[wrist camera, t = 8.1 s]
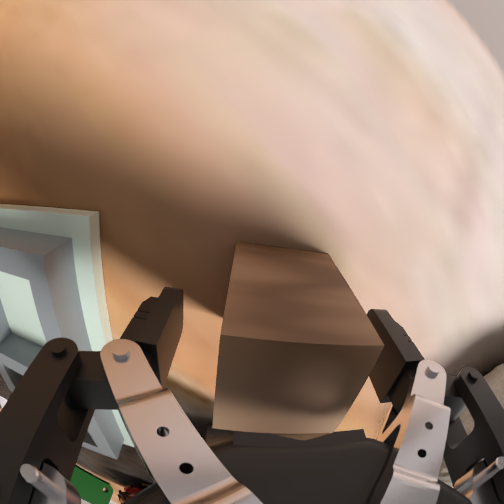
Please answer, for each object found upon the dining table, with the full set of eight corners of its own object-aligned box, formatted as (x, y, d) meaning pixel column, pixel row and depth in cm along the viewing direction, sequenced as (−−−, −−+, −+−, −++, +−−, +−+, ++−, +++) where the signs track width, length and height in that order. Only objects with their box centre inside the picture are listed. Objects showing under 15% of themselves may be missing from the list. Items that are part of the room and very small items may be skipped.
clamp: (71, 446, 32) (39, 466, 24) (75, 447, 29) (40, 470, 21) (113, 491, 31) (84, 514, 23) (122, 497, 28) (90, 522, 20)
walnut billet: (328, 253, 13) (384, 345, 7) (307, 328, 15) (333, 432, 8) (236, 241, 13) (220, 334, 7) (227, 319, 15) (212, 428, 8)
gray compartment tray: (98, 211, 12) (59, 231, 9) (141, 440, 20) (132, 468, 17) (-24, 202, 12) (-55, 215, 9) (39, 401, 20) (26, 422, 16)
